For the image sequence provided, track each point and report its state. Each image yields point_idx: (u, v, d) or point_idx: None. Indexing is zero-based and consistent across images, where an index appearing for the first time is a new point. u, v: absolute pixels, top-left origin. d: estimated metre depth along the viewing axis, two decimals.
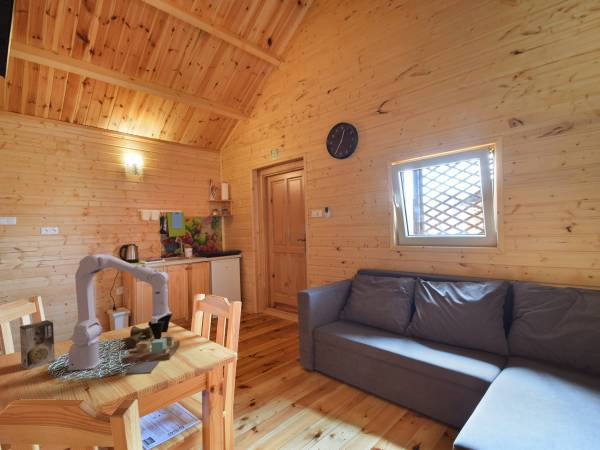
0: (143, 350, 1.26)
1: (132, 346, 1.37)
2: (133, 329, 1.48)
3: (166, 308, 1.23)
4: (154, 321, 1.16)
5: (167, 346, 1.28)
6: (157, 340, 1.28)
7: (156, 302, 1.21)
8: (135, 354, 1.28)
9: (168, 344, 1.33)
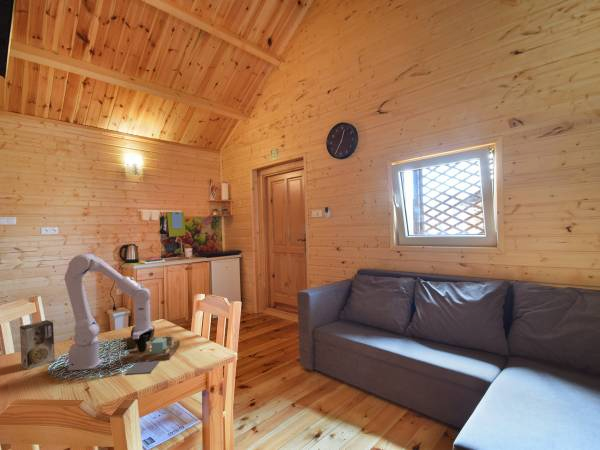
0: None
1: (133, 346, 1.37)
2: (134, 329, 1.48)
3: (148, 323, 1.26)
4: (136, 337, 1.20)
5: (167, 346, 1.28)
6: (157, 340, 1.28)
7: (140, 318, 1.24)
8: (135, 354, 1.28)
9: (168, 344, 1.33)
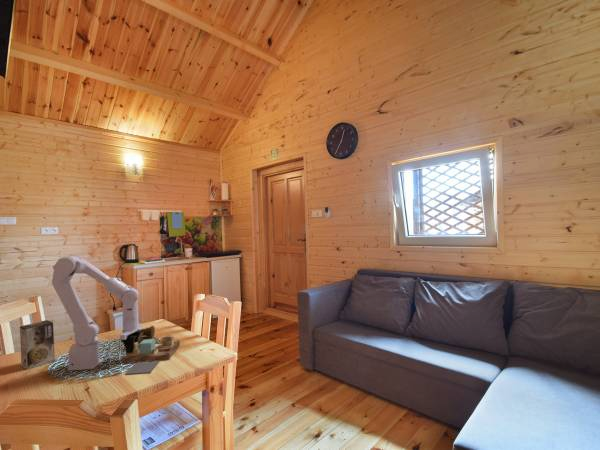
0: None
1: None
2: None
3: (136, 324, 1.26)
4: (123, 338, 1.19)
5: (155, 347, 1.28)
6: (145, 341, 1.27)
7: (128, 318, 1.24)
8: None
9: (168, 344, 1.33)
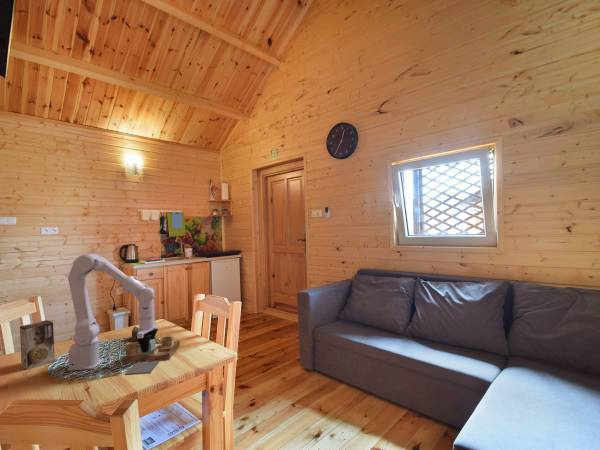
0: (131, 351, 1.25)
1: None
2: (134, 330, 1.47)
3: (152, 323, 1.26)
4: (140, 336, 1.20)
5: (155, 347, 1.28)
6: None
7: (144, 317, 1.24)
8: None
9: (168, 344, 1.33)
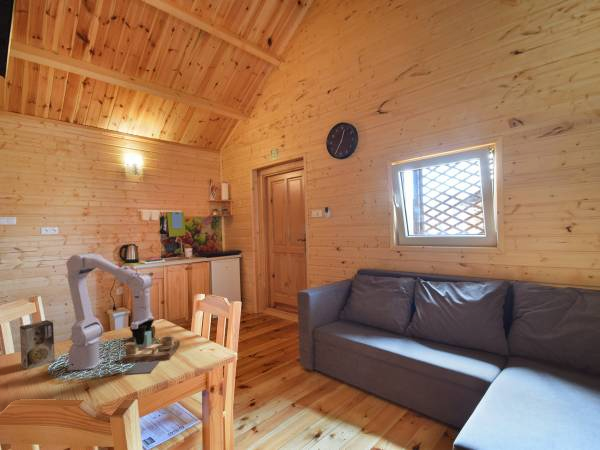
0: (131, 351, 1.25)
1: None
2: None
3: (148, 313, 1.17)
4: (134, 327, 1.11)
5: (155, 347, 1.28)
6: None
7: (135, 307, 1.15)
8: None
9: (168, 344, 1.33)
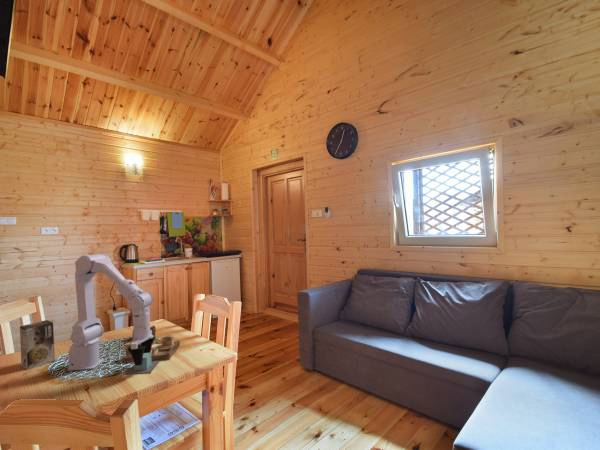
0: None
1: None
2: None
3: (148, 332, 1.16)
4: (134, 347, 1.10)
5: (155, 347, 1.28)
6: None
7: (135, 326, 1.14)
8: None
9: (168, 344, 1.33)
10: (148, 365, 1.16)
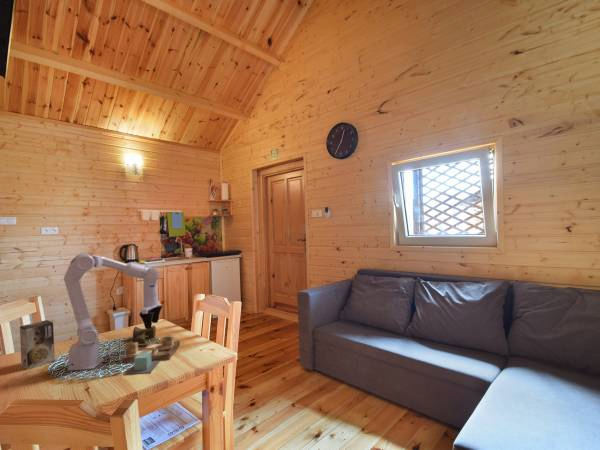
0: (131, 351, 1.25)
1: None
2: (135, 330, 1.47)
3: (156, 300, 1.35)
4: (144, 312, 1.28)
5: (155, 347, 1.28)
6: (141, 355, 1.17)
7: (151, 294, 1.33)
8: None
9: (168, 344, 1.33)
10: (148, 365, 1.16)
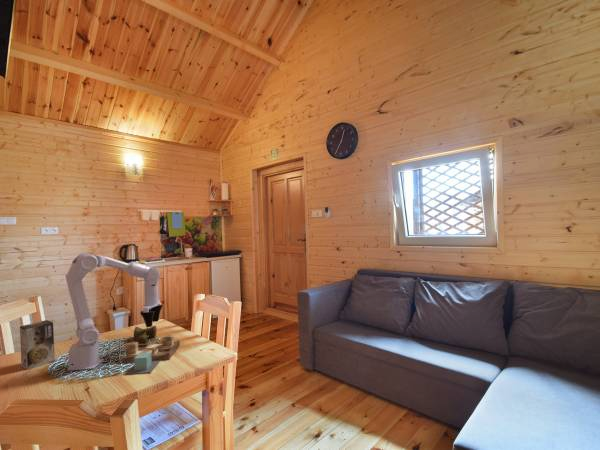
0: (131, 351, 1.25)
1: None
2: (136, 330, 1.47)
3: (157, 299, 1.37)
4: (145, 310, 1.30)
5: (155, 347, 1.28)
6: (141, 355, 1.17)
7: (152, 293, 1.35)
8: None
9: (168, 344, 1.33)
10: (148, 365, 1.16)
